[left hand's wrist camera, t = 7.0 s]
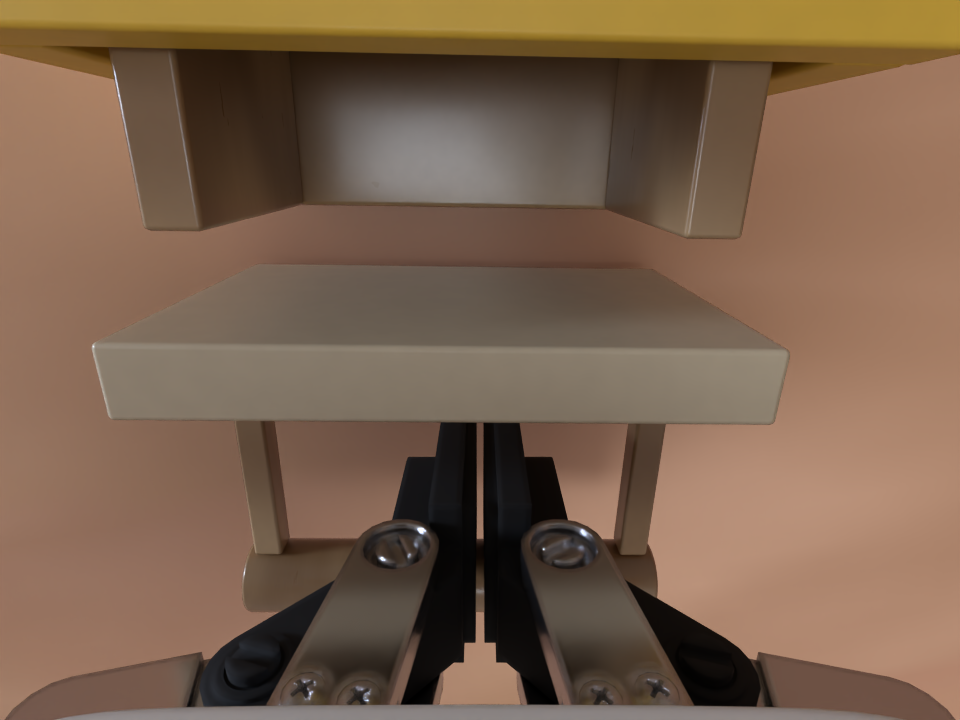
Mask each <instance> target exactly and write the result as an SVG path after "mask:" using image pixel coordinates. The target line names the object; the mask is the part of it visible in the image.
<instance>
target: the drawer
mask: <svg viewBox="0 0 960 720" xmlns="http://www.w3.org/2000/svg"><path fill="white" fill-rule="evenodd" d="M108 49H109V54H110V59H111V65H112V70H113V75H114V80H115V85H116V90H117V95H118V100H119V105H120V110H121V115H122V120H123V125H124V130H125V135H126V140H127V145H128V150H129V155H130V160H131V166H132V171H133V176H134V181H135V186H136V191H137V196H138V201H139V206H140V211H141V216H142V221H143V225H144V227H145V228H146V229H148V230H151V231H203V230H207V229H210V228H214V227H218V226H222V225H226V224H230V223H233V222H237V221H241V220H245V219H249V218H253V217H256V216H260V215H264V214H268V213H272V212H276V211H279V210H283V209H287V208H291V207H295V206H299V205H358V206H421V207H485V208H548V209H607V210H609V211H612V212H615V213H618V214H621V215H623V216H626V217H629V218H632V219H634V220H637V221H640V222H643V223H646V224H648V225H651V226H654V227H657V228H660V229H662V230H665V231H668V232H671V233H673V234H676V235H679V236H682V237H685V238H689V239H737V238H740V236H741V234H742V229H743V224H744V218H745V213H746V207H747V202H748V197H749V191H750V186H751V180H752V175H753V169H754V164H755V158H756V153H757V147H758V142H759V137H760V131H761V126H762V120H763V115H764V109H765V104H766V98H767V93H768V88H769V82H770V77H771V71H772V66H773V61H727V60H681V59H635V58H589V57H543V56H497V55H452V54H406V53H360V52H314V51H268V50H222V49H176V48H130V47H108ZM92 352H93V356H94V360H95V364H96V368H97V372H98V376H99V380H100V384H101V388H102V392H103V396H104V400H105V404H106V408H107V412H108V416H109V417H110V418H111V419H113V420H196V421H234V423H235V430H236V436H237V442H238V448H239V455H240V461H241V467H242V473H243V480H244V486H245V492H246V498H247V504H248V511H249V517H250V523H251V529H252V536H253V542H254V544H253V546H252V547H251V549H250V551H249V554H248V556H247V559H246V563H245V567H244V571H243V578H242V598H243V603H244V606H245V608H246V609H247V610H248V611H250V612H281V611H282V610H284V609H286V608H287V607H289V606H291V605H293V604H294V603H296V602H298V601H299V600H301V599H303V598H305V597H306V596H308V595H310V594H311V593H313V592H315V591H317V590H318V589H320V588H322V587H323V586H325V585H327V584H329V583H330V582H332V581H334V580H335V579H336V577H337V576H338V574H339V572H340V570H341V568H342V566H343V565H344V563H345V561H346V559H347V557H348V556H349V554H350V552H351V550H352V548H353V547H354V545H355V543H356V541H357V540H358V539H340V538H289V537H290V536H289V528H288V520H287V513H286V505H285V498H284V490H283V482H282V475H281V467H280V459H279V452H278V444H277V436H276V429H275V421H335V422H474V423H612V424H628V429H627V437H626V445H625V452H624V460H623V468H622V476H621V484H620V492H619V500H618V508H617V516H616V524H615V532H614V539H602V540H603V541H604V543H605V545H606V547H607V548H608V550H609V552H610V554H611V556H612V557H613V559H614V561H615V563H616V565H617V566H618V568H619V570H620V572H621V574H622V576H623V577H624V579H625V580H626V581H628V582H630V583H632V584H633V585H635V586H637V587H638V588H640V589H642V590H644V591H645V592H647V593H649V594H650V595H652V596H654V597H656V598H657V592H658V581H657V571H656V565H655V561H654V557H653V554H652V551H651V549H650V547H649V545H648V544H647V542H648V536H649V529H650V523H651V516H652V510H653V503H654V497H655V490H656V484H657V477H658V471H659V464H660V458H661V451H662V445H663V438H664V432H665V425H666V424H751V425H770V424H773V423H774V421H775V418H776V414H777V409H778V405H779V401H780V397H781V392H782V388H783V384H784V379H785V375H786V371H787V366H788V362H789V358H790V353H789V351H788V350H787V349H786V348H784V347H782V346H781V345H779V344H777V343H775V342H774V341H772V340H770V339H769V338H767V337H765V336H764V335H762V334H760V333H759V332H757V331H755V330H754V329H752V328H750V327H749V326H747V325H745V324H744V323H742V322H740V321H739V320H737V319H735V318H734V317H732V316H730V315H729V314H727V313H725V312H724V311H722V310H720V309H718V308H717V307H715V306H713V305H712V304H710V303H708V302H707V301H705V300H703V299H702V298H700V297H698V296H697V295H695V294H693V293H692V292H690V291H688V290H687V289H685V288H683V287H682V286H680V285H678V284H677V283H675V282H673V281H672V280H670V279H668V278H666V277H665V276H663V275H661V274H660V273H658V272H656V271H655V270H653V269H601V268H526V267H451V266H377V265H302V264H256V265H254V266H252V267H250V268H248V269H246V270H244V271H242V272H240V273H238V274H235V275H233V276H231V277H229V278H227V279H225V280H223V281H221V282H219V283H217V284H215V285H213V286H211V287H209V288H207V289H204V290H202V291H200V292H198V293H196V294H194V295H192V296H190V297H188V298H186V299H184V300H182V301H180V302H178V303H176V304H173V305H171V306H169V307H167V308H165V309H163V310H161V311H159V312H157V313H155V314H153V315H151V316H149V317H147V318H145V319H143V320H140V321H138V322H136V323H134V324H132V325H130V326H128V327H126V328H124V329H122V330H120V331H118V332H116V333H114V334H112V335H109V336H107V337H105V338H103V339H101V340H99V341H97V342H95V343H94V344H93V345H92ZM476 612H484V539H477V540H476Z"/></svg>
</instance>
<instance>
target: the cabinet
mask: <svg viewBox="0 0 960 720" xmlns="http://www.w3.org/2000/svg"><path fill="white" fill-rule="evenodd" d="M108 47H130V48H176V49H222V50H268V51H314V52H360V53H406V54H452V55H497V56H543V57H589V58H635V59H681V60H727V61H773V66H772V71H771V77H770V82H769V88H768V93H767V96H768V95H773V94H777V93H782V92H787V91H791V90H796V89H800V88H805V87H809V86H814V85H819V84H823V83H828V82H832V81H837V80H841V79H846V78H851V77H855V76H860V75H864V74H869V73H873V72H878V71H883V70H887V69H892V68H896V67H900V66H902V65H905V64H910V65H912V64H916V63H921V62H925V61H930V60H935V59H939V58H944V57H948V56H953V55H957V54H960V0H0V53H1V54H5V55H10V56H14V57H18V58H23V59H27V60H32V61H36V62H40V63H45V64H49V65H53V66H58V67H62V68H67V69H71V70H75V71H80V72H84V73H89V74H93V75H97V76H102V77H106V78H110V79H114V75H113V70H112V65H111V59H110V54H109V49H108Z"/></svg>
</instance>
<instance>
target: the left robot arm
mask: <svg viewBox="0 0 960 720" xmlns="http://www.w3.org/2000/svg"><path fill="white" fill-rule="evenodd" d="M483 530H484V634H485V643H496V662H506V663H508V664H509V665H510V666H511V667H512V668H514V669H515V670H516V671H517V690H518V694H519V699H520V703H521V705H439V703H440V699H441V694H442V690H443V671H444V670H445V669H447V668H448V667H449V666H450V665H451V664H452V663H454V662H459V663H464V643H475V641H476V540H477V425H476V423H474V422H441V425H440V431H439V438H438V445H437V451H436V457H408V459H407V462H406V466H405V470H404V474H403V478H402V482H401V486H400V490H399V494H398V498H397V502H396V507H395V511H394V515H393V519H392V520H390V521H385V522H382V523H380V524H377V525H375V526H372V527H371V528H370V529H368V530H367V531H365V532H364V533H363V534H362V535H361V536H360V537H359V539H358V540H357V541H356V543H355V545H354V547H353V548H352V550H351V552H350V554H349V556H348V557H347V559H346V561H345V563H344V565H343V566H342V568H341V570H340V572H339V574H338V576H337V577H336V579H335V580H334V581H332V582H330V583H329V584H327V585H325V586H323V587H322V588H320V589H318V590H317V591H315V592H313V593H311V594H310V595H308V596H306V597H305V598H303V599H301V600H299V601H298V602H296V603H294V604H293V605H291V606H289V607H287V608H286V609H284V610H282V611H281V612H279V613H277V614H275V615H274V616H272V617H270V618H269V619H267V620H265V621H263V622H262V623H260V624H258V625H257V626H255V627H253V628H251V629H250V630H248V631H246V632H245V633H243V634H241V635H239V636H238V637H236V638H234V639H233V640H232V641H230V642H229V643H228V644H226V645H225V646H223V647H222V648H221V649H220V650H219V651H218V652H217V653H216V654H215V655H214V656H213V657H212V659H207V660H203V655H202V652H199V653H194V654H189V655H184V656H178V657H173V658H168V659H163V660H157V661H152V662H147V663H141V664H136V665H131V666H126V667H120V668H115V669H110V670H105V671H99V672H94V673H89V674H84V675H78V676H73V677H69V678H66V679H63V680H60V681H57V682H54V683H51V684H49V685H47V686H46V687H44V688H42V689H40V690H38V691H36V692H35V693H33V694H31V695H30V696H29V697H27V698H26V699H25V700H24V701H23V702H21V703H20V704H19V705H18V706H16V707H15V708H14V709H13V710H12V711H11V712H10V714H9V715H8V716H7V717H6V719H5V720H955V718H954V717H953V716H952V715H951V714H950V712H949V711H948V710H947V709H946V708H945V707H944V706H942V705H941V704H940V703H939V702H938V701H936V700H935V699H934V698H933V697H931V696H930V695H929V694H927V693H925V692H924V691H922V690H920V689H918V688H916V687H915V686H913V685H911V684H909V683H906V682H903V681H900V680H897V679H894V678H891V677H887V676H882V675H876V674H871V673H866V672H861V671H855V670H850V669H845V668H840V667H834V666H829V665H824V664H819V663H813V662H808V661H803V660H798V659H792V658H787V657H782V656H777V655H771V654H766V653H761V652H758V656H757V660H753V659H749V658H748V657H747V656H746V655H745V654H744V653H743V652H742V651H741V650H740V649H739V648H738V647H737V646H735V645H734V644H733V643H731V642H730V641H728V640H727V639H726V638H724V637H722V636H721V635H719V634H717V633H716V632H714V631H712V630H710V629H709V628H707V627H705V626H704V625H702V624H700V623H698V622H697V621H695V620H693V619H692V618H690V617H688V616H686V615H685V614H683V613H681V612H680V611H678V610H676V609H674V608H673V607H671V606H669V605H668V604H666V603H664V602H662V601H661V600H659V599H657V598H656V597H654V596H652V595H650V594H649V593H647V592H645V591H644V590H642V589H640V588H638V587H637V586H635V585H633V584H632V583H630V582H628V581H626V580H625V579H624V577H623V576H622V574H621V572H620V570H619V568H618V566H617V565H616V563H615V561H614V559H613V557H612V556H611V554H610V552H609V550H608V548H607V547H606V545H605V543H604V541H603V540H602V539H601V537H600V536H599V535H598V534H597V533H596V532H595V531H593V530H592V529H590V528H589V527H588V526H585V525H583V524H580V523H578V522H575V521H570V520H568V518H567V514H566V510H565V506H564V502H563V498H562V494H561V490H560V486H559V482H558V478H557V474H556V469H555V465H554V461H553V458H552V457H524V450H523V444H522V437H521V431H520V424H519V423H484V466H483Z"/></svg>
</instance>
